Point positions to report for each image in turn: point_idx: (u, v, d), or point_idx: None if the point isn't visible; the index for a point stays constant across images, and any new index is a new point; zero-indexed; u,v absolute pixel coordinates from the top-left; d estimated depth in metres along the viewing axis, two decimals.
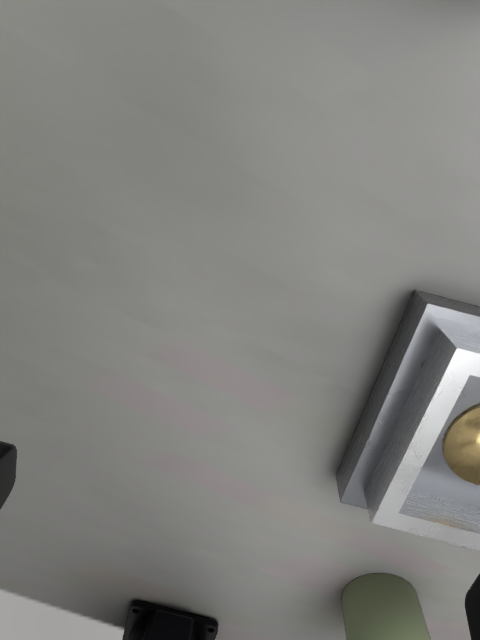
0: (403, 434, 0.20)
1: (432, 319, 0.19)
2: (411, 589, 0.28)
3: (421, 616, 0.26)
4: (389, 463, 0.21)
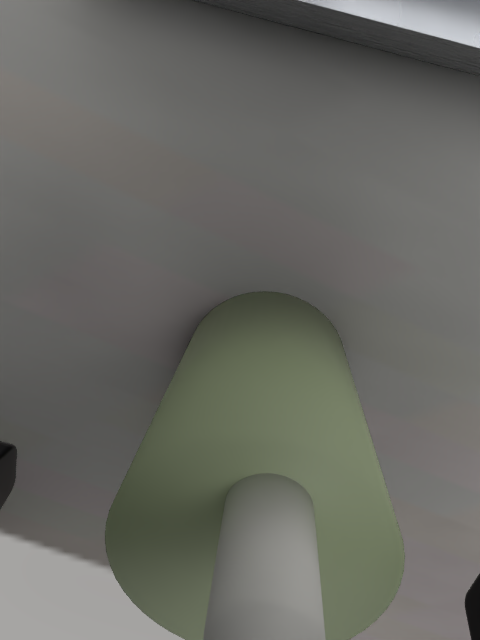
0: None
1: None
2: (326, 321, 0.12)
3: (339, 352, 0.11)
4: None
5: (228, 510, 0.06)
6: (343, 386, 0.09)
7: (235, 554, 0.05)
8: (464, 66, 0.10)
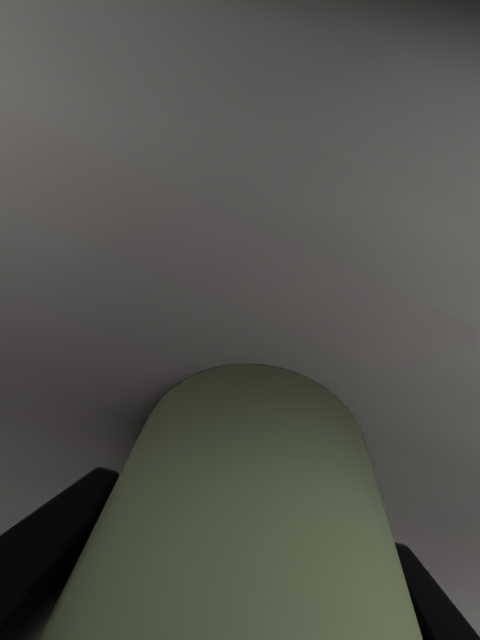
0: None
1: None
2: (341, 411, 0.08)
3: (366, 479, 0.07)
4: None
5: None
6: (386, 596, 0.05)
7: None
8: None
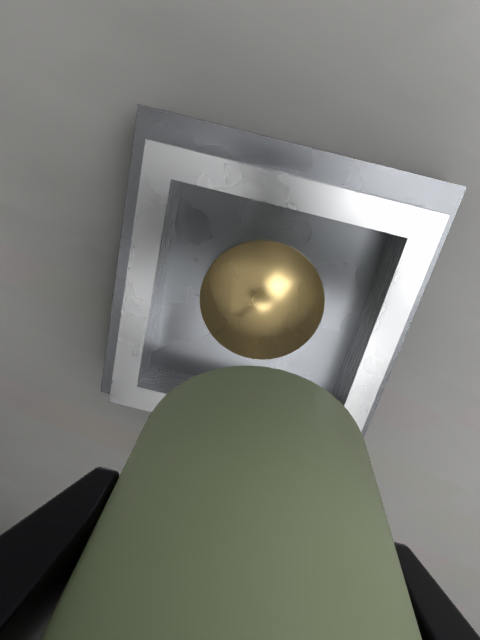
0: None
1: (148, 127, 0.15)
2: (341, 413, 0.08)
3: (366, 481, 0.07)
4: None
5: None
6: (386, 600, 0.05)
7: None
8: None
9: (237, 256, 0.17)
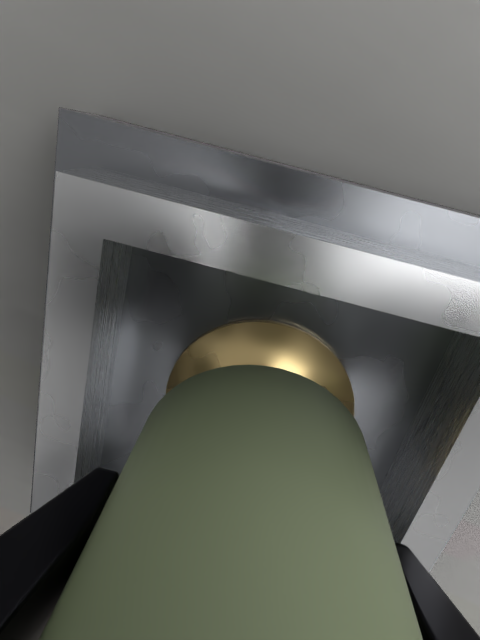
0: None
1: (78, 145, 0.10)
2: (342, 412, 0.08)
3: (366, 480, 0.07)
4: None
5: None
6: (386, 598, 0.05)
7: None
8: None
9: (221, 343, 0.11)
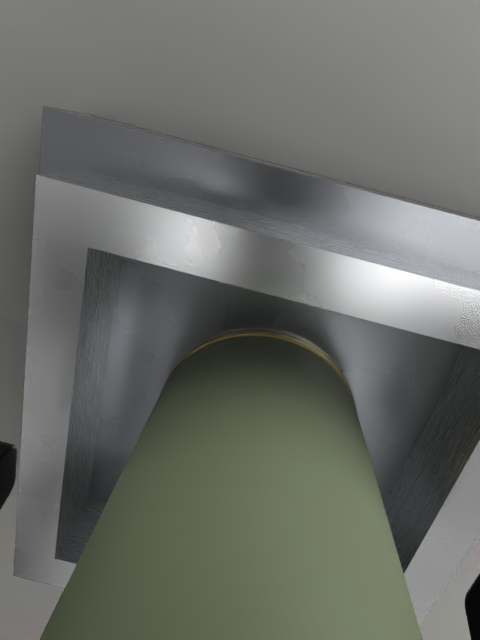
0: None
1: (63, 146, 0.09)
2: (333, 376, 0.10)
3: (352, 426, 0.08)
4: None
5: None
6: (363, 501, 0.06)
7: None
8: None
9: None
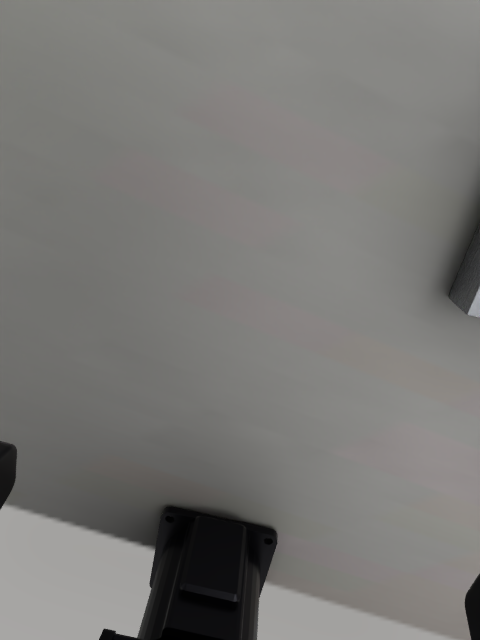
0: None
1: None
2: None
3: None
4: None
5: None
6: None
7: None
8: None
9: None
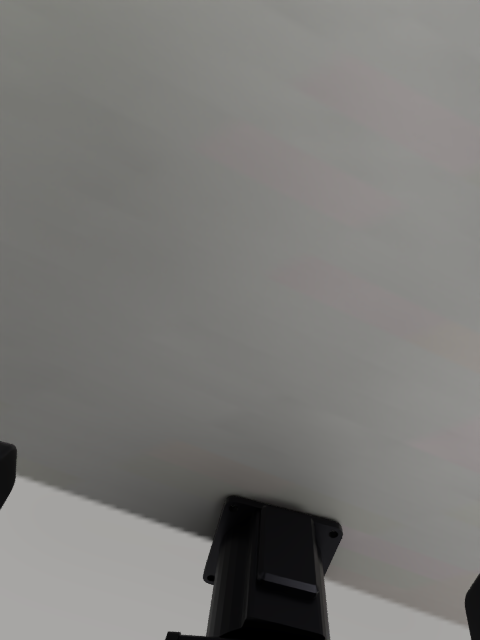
0: None
1: None
2: None
3: None
4: None
5: None
6: None
7: None
8: None
9: None
